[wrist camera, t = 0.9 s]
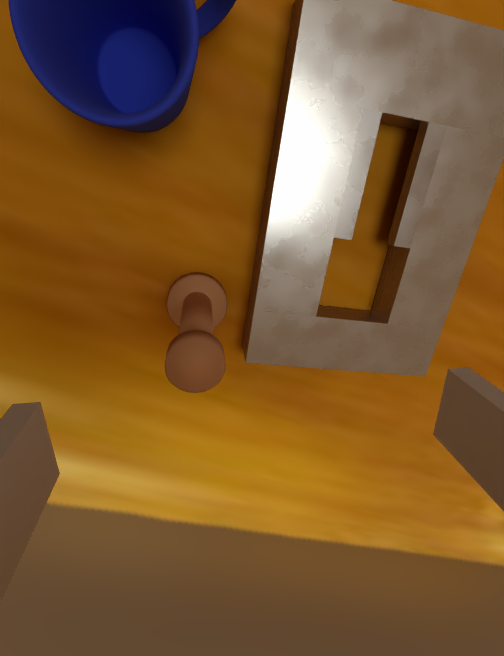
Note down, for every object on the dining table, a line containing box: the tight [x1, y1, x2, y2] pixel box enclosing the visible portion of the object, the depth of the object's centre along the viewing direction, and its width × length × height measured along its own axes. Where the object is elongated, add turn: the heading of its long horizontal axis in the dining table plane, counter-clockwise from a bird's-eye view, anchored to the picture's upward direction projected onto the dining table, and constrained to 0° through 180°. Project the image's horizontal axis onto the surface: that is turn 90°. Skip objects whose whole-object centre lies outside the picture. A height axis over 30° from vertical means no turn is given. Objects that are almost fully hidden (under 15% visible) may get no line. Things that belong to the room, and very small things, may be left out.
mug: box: [9, 0, 236, 132], centre depth 21 cm, size 8×12×10 cm
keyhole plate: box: [242, 0, 504, 376], centre depth 30 cm, size 26×17×3 cm, turn 172°
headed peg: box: [165, 272, 227, 393], centre depth 26 cm, size 5×5×12 cm
